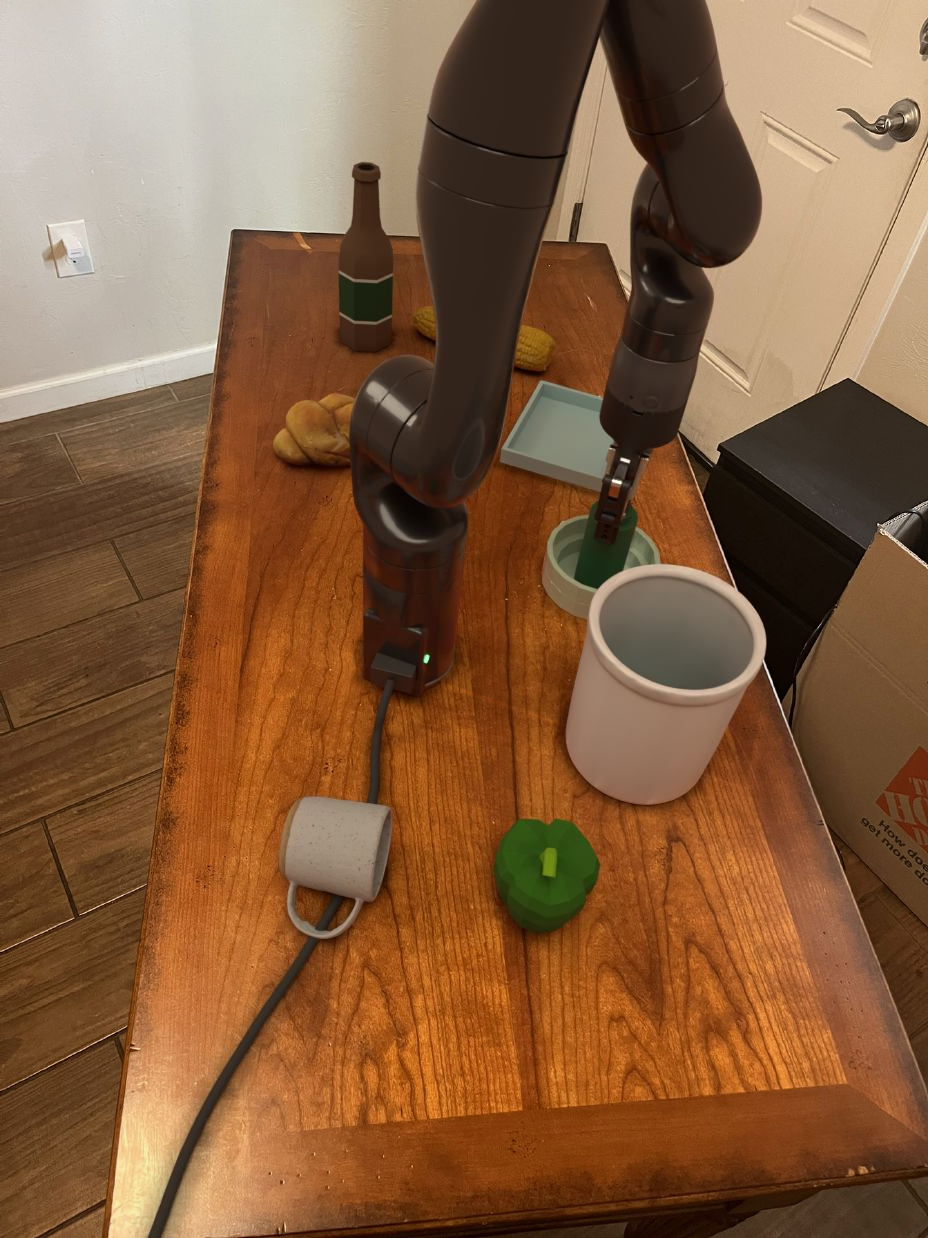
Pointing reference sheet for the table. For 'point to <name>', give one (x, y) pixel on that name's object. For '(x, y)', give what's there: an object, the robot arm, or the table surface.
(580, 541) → the bowl
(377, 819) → the ceramic mug
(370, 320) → the beer bottle
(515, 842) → the bell pepper
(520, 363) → the food
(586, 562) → the bottle
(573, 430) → the tray
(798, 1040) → the table surface
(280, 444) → the bread roll
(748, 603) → the utensil holder
